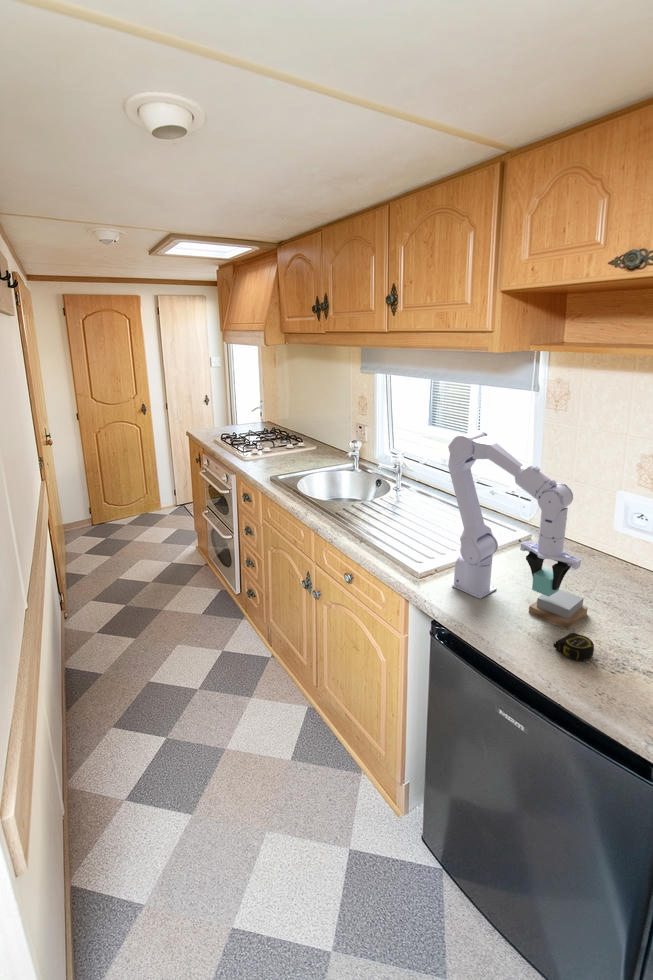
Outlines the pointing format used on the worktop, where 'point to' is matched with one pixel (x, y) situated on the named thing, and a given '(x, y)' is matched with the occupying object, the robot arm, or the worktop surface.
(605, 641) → the worktop surface
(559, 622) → the tower base block
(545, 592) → the teal cube
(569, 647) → the tape measure
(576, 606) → the tower top block
